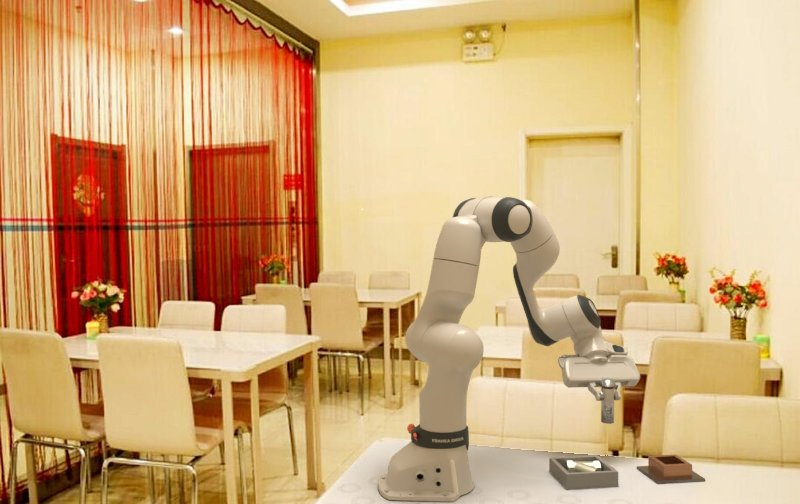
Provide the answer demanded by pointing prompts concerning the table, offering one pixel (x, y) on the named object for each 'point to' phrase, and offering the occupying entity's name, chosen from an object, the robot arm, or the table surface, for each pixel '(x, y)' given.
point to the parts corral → (583, 473)
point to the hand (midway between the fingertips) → (608, 399)
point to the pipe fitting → (582, 466)
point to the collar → (669, 470)
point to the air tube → (607, 400)
